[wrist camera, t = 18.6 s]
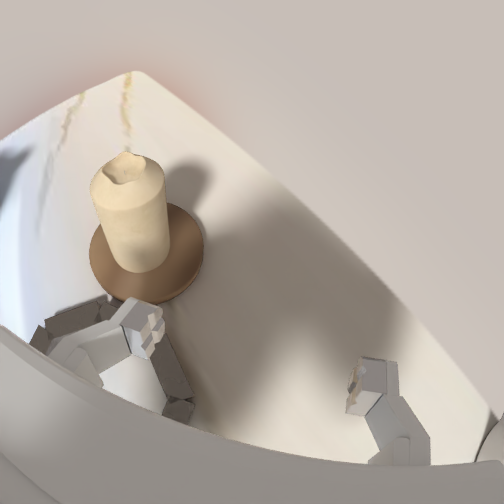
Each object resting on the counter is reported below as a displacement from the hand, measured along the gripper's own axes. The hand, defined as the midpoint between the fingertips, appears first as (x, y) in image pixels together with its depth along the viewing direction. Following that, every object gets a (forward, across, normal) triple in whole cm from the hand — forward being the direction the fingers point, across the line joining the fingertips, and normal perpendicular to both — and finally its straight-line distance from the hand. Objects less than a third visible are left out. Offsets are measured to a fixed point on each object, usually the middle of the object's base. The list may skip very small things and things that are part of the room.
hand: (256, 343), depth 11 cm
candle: (+12, +13, +6) cm, 19 cm away
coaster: (+12, +14, +7) cm, 20 cm away
